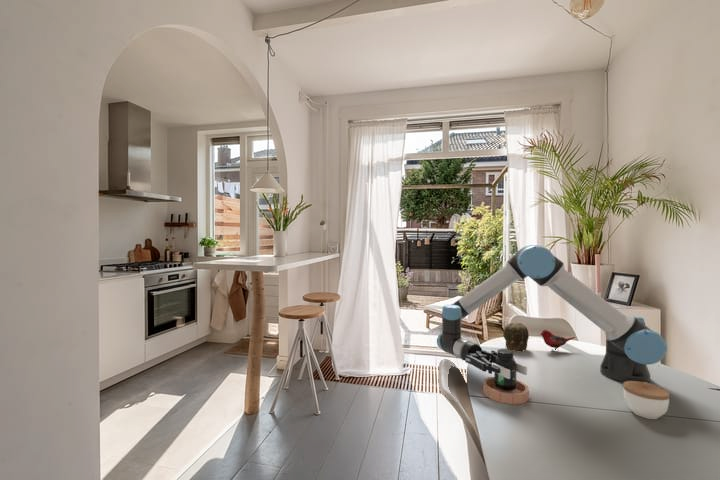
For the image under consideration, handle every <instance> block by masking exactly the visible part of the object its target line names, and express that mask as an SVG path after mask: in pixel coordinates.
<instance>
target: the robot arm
mask: <svg viewBox="0 0 720 480" xmlns="http://www.w3.org/2000/svg"><path fill="white" fill-rule="evenodd" d="M505 262H506V263H505V265H504V266H503V267H502V268H500V269H499V270H497V271H496V272H495V273H493V274H492V275H491V276H489V277H488V278H486V279H485V280H484V281H482V282H481V283H479V284H478V285H477V286H475V287H474V288H473V289H471V290H470V291H469V292H467V293H466V294H464V295H463V296H461V298H459V299H457V300H456V301H455V302H454V303H451V304H445V305H443V306H442V308H441V309H442V312H441V319H442V320H441V321H442V323H441V327H442V328H441V330H442V331H441V332H440V333H439V334H438V336H437V338H436V345H437V346H438V348H439V349H440V350H442V351H444V352H445V353H447V354H450V355H452V356H454V357H456V358H458V359H461V361H465V363H467V364H470V365H471V366H473V367H475V368H477V369H478V370H480V371H482V372H487V371H488V374H493V373H497V374H499V375H501V376H503V377H505V378H507V379H510V370H509V369H506V368H504V367H502V366H499V365H497V364H495V363H494V361H495V359H496V358H497V357H498V356H497V354H498V351H495V350H491V351H486V350H483V349H482V346H480V344H477V343H475V342H473V341H470V340H468V339H465V338H462V321H463V319H465V318H466V317H468V316H469V315H470V314H471V313H473V312H475V311H476V310H477V309H479V308H480V307H481V306H483V305H484V304H486V303H487V302H488V301H490V300H491V299H493V298H494V297H496V296H497V295H498V294H500V293H501V292H503V291H504V290H506V289H507V288H508V287H510V286H512V285H513V284H515V282H517V281H518V280H519V281H523V280H524V279H526V278H527V277H528V278H530V280H532V281H534V282H535V283H536V284H537V285H538V286H540V287H547V288H549V289H550V290H551V291H553V292H554V293H555V294H556V295H558V296H559V297H561V299H563V300H564V301H565V302H567V303H568V304H569V305H571V306H572V307H573V308H574V309H575V310H577V311H578V312H579V313H581V314H582V315H583V316H584V317H585V318H587V320H589V321H590V322H592V323H593V324H594V325H596V326H597V327H598V328H599V329H600V330H602V331H603V332H604V335H605V354H604V357H603V359H602V361H601V363H600V368H599V369H600V370H599V372H600V373H601V374H602V375H603V376H605V377H607V378H609V379H611V380H615V381H619V382H621V383H622V382H623V383H624V382H626V381H640V382H647V383H650V382H651V373H650V370H649V367H648V365H654V364H657V363H659V362H661V361H662V360H663V359H664V358H665V356H666V354H667V350H668V349H667V347H668V346H667V345H668V344H667V342H666V341H665V339H664V337H663V336H662V335H661V334H660V333H658V332H657V331H654V330H652V329H651V328H650V327H648V326H646V321H645V318H644V317H642V316H634V315H632V314H624V313H622V312H621V311H619V310H618V309H617V308H616V307H614V306H613V305H612V304H610V303H609V302H608V301H607V300H605V298H602V297H601V296H600V295H599V294H597V293H596V292H595V291H593V290H592V288H590V287H588V286H587V285H586V284H585V283H583V281H581V280H580V279H578V278H577V277H575V276H574V275H573V274H572V273H571V272H569V271H567V270H566V267H565V263H564V262H563V261H562V260H560V259H559V258H558V257H556V256H555V255H554V254H553V253H552V252H551V250H549V249H548V248H547V247H545V246H541V245H536V244H529V245H525V246H523V247H521V249H519V250H518V251H517V252H516V253H515V255H513V256H512V257H511V258H509V259H508V260H507V261H505ZM513 359H514V360H515V358H514V357H513ZM516 365H517V366H516V373H519V374H521V375H524V376H527V375H528V366H526V365H524V364H522V363H519V362H516Z"/></svg>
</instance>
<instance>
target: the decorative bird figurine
mask: <svg viewBox="0 0 720 480" xmlns="http://www.w3.org/2000/svg"><path fill="white" fill-rule="evenodd" d="M540 336H541V337H542V339H543V342H544V343H545V344H546V345H547V346H548V347H551V348H552V349H551V350H553V349H555V350H556V349H559V348H561V347H563V346H564V345H565V344H566V343H567V342H569V341H571V340H574V339H576V337H575V336H573V337H567V338H565V337H563V336H560V335H557V334H553V333H552V332H551V331H550V330H547V329H543V330H542V331H541V333H540Z"/></svg>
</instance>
